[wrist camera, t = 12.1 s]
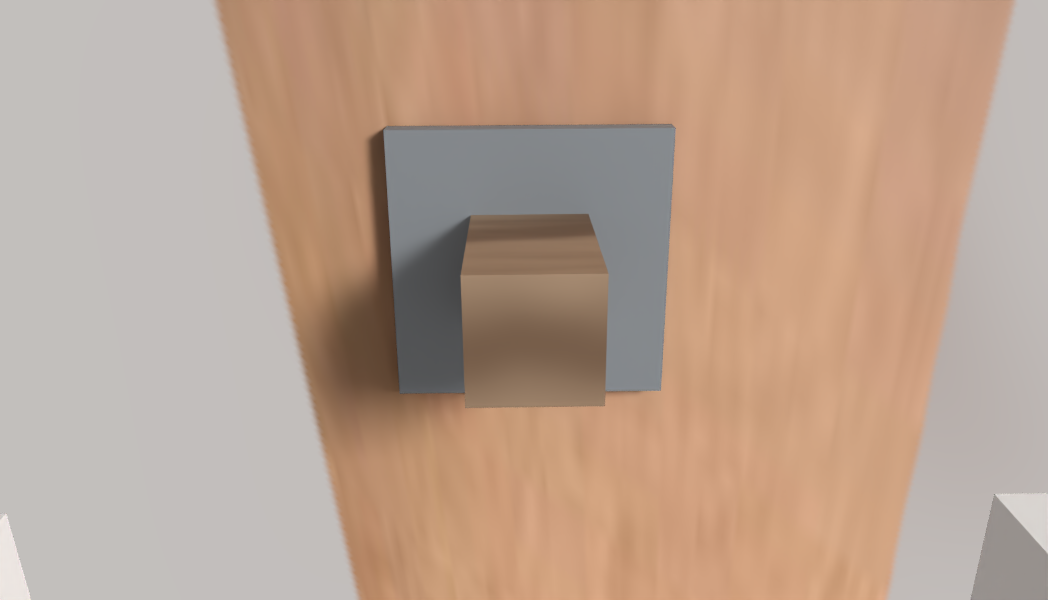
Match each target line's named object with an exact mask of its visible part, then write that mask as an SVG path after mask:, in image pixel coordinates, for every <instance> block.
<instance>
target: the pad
mask: <svg viewBox="0 0 1048 600" xmlns="http://www.w3.org/2000/svg"><path fill="white" fill-rule="evenodd" d="M675 129H676V128H675V127H674V126H673V125H672V124H628V125H494V126H387V127H386V128H385V129H384V130H383V132H384V148H385V164H386V180H387V197H388V213H389V229H390V245H391V261H392V277H393V293H394V309H395V326H396V342H397V358H398V374H399V390H400V394H401V393H465V386H464V358H463V330H462V302H461V270H462V264H463V258H464V252H465V247H466V241H467V235H468V229H469V223H470V217H471V215H523V214H589V217H590V220H591V223H592V226H593V229H594V232H595V235H596V238H597V241H598V244H599V247H600V250H601V252H602V255H603V258H604V261H605V264H606V267H607V270H608V273H609V280H608V315H607V351H606V387H605V391H661V378H662V360H663V343H664V325H665V307H666V289H667V271H668V254H669V236H670V218H671V200H672V182H673V165H674V147H675Z"/></svg>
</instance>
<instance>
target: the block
mask: <svg viewBox="0 0 1048 600" xmlns="http://www.w3.org/2000/svg"><path fill="white" fill-rule="evenodd" d="M608 280H609V273H608V270H607V267H606V264H605V261H604V258H603V255H602V252H601V250H600V247H599V244H598V241H597V238H596V235H595V232H594V229H593V226H592V223H591V220H590V217H589V214H523V215H471V217H470V223H469V229H468V235H467V241H466V247H465V252H464V258H463V264H462V270H461V302H462V330H463V358H464V386H465V408H502V407H574V406H605V387H606V351H607V315H608Z"/></svg>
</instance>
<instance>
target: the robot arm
mask: <svg viewBox="0 0 1048 600" xmlns="http://www.w3.org/2000/svg"><path fill="white" fill-rule="evenodd" d="M0 600H31V597H30V594H29V591H28V587H27V584H26V581H25V577H24V573H23V570H22V566H21V563H20V559H19V556H18V553H17V549H16V545H15V542H14V539H13V535H12V532H11V528H10V525H9V521H8V518H7V514H6V513H0ZM971 600H1048V493H1030V494H1029V493H1027V494H994V498H993V502H992V507H991V511H990V516H989V520H988V524H987V529H986V533H985V538H984V542H983V547H982V551H981V556H980V560H979V564H978V569H977V574H976V578H975V582H974V587H973V591H972V595H971Z"/></svg>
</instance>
